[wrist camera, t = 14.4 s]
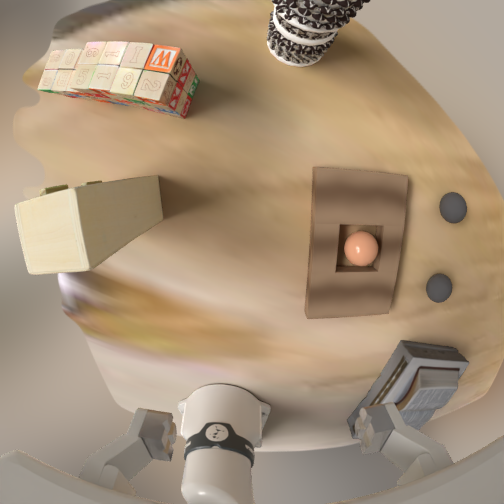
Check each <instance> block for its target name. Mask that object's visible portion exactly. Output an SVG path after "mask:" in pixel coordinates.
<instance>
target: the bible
mask: <svg viewBox="0 0 504 504" xmlns="http://www.w3.org/2000/svg"><path fill="white" fill-rule="evenodd" d="M468 364H469V361H467V360H466V359H465V357H464V356H462V355H461V354H459V353H458V350H457V349H456V348H454V347H448V346H440V345H432V344H426V343H418V342H411V341H404V340H401V341H400V342H399V344H398V346H397V348H396V349H395V351H394V353H393V354H392V356H391V358H390V360H389V361H388V363H387V364H386V366H385V367H384V369H383V370H382V372H381V376H380V377H379V378H378V379H377V380H376V381H375V383H374V384H373V386H372V387H371V390H370V391H369V392H368V395H367V397H366V398H365V399H364V400H362V402H361V403H360V404H359V405H358V407H357V408H356V409H355V411H354V412H353V413H352V415H351V416H350V417H349V418H348V419H347V421H348V424H349V427H350V431H351V434H352V438H353V439H359V438H357V436H356V433H355V422H356V419H357V418H358V417H360V414H359V412H360V410H361V408H363V407H368V406H373V405H378V404H384V403H388V402H393V403H394V404H395V406H396V407H397V409H398V411H399V413H400V415H401V417H402V419H403V421H404V423H405V425H406V426H408V425H409V426H411V427H413V428H414V429H416V430H419V429H420V428H421V427H422V426H423V425H424V424H425V423H426V422H427V421H428V420H429V419H430V418H431V417H432V416H433V414H434V412H435V410H436V409H440V408H442V407H443V406H445V405H446V404H447V402H448V401H449V400H450V399H451V397H452V396H453V394H454V393H455V392H456V390H457V388H458V380H459V378H460V377H461V375H462V374H463V372H464V371H465V369H466V368H467V366H468Z"/></svg>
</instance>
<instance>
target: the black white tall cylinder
mask: <svg viewBox="0 0 504 504" xmlns="http://www.w3.org/2000/svg"><path fill="white" fill-rule="evenodd" d="M369 1H370V0H272V2H273V4H274V6H275V7H274V11H273V12H271V13H270V16H271V18H270V21H269V25H268V27H269V29H268V33H267V35H268V36H267V45H268V47H269V50H270V52H271V54H272V55H273V56H275V57H276V58H277V59H278V60H279V61H281V62H283V63H285V64H287V65H289V66H296V67H304V66H310V65H313V64H314V63H316V62H317V61H319V60H320V59H321V57H323V56H324V53H326V52H327V49H328V48H329V47H330V46H331V44H332V43H333V42H334V37H336V36H337V35H338V33H337V31H338V29H340V28H342V27H344V26H345V24H347V23H349V21H350V17H352V18H353V17H355V16H356V11H357V10H360V9H362V7H363V3H364V2H365V3H368V2H369Z"/></svg>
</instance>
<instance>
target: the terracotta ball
mask: <svg viewBox="0 0 504 504" xmlns="http://www.w3.org/2000/svg"><path fill="white" fill-rule="evenodd" d="M344 251H345V255H346V257H347V259H348V260H349V261H350V262H351V263H352V264H354V265H357V266H366V265H369V264H370V263H372V262H373V261H374V260H375V258H376V256H377V254H378V244H377V241H376V239H375V238H374V236H373V235H371V234H370V233H368V232H365V231H357V232H354V233H352V234H351V235H350V236H349V237H348V238H347V240H346V242H345V246H344Z"/></svg>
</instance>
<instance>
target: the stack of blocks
mask: <svg viewBox="0 0 504 504" xmlns="http://www.w3.org/2000/svg"><path fill="white" fill-rule="evenodd" d="M198 83H199V79H198V77H197V75H196V74H195V72H194V70H193V69H192V67H191V64H190V63H189V61H188V59H187V58H186V57H185V55H184V53H183V51H182V49H181V48H178V47H171V46H163V45H154V44H151V43H136V42H124V41H122V42H121V41H109V42H87V44H86V46H85V49H67V50H53V51H52V52H51V55H50V57H49V59H48V62H47V64H46V67H45V71H44V73H43V75H42V78H41V81H40V83H39V86H38V90H40V91H44V92H49V93H55V94H59V95H64V96H68V97H72V98H82V99H86V100H94V101H100V102H107V103H116V104H121V105H127V106H133V107H138V108H143V109H147V110H150V111H155V112H159V113H163V114H167V115H171V116H175V117H179V118H183V119H185V117H186V115H187V112H188V109H189V106H190V104H191V101H192V98H193V95H194V93H195V90H196V88H197V85H198Z"/></svg>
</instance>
